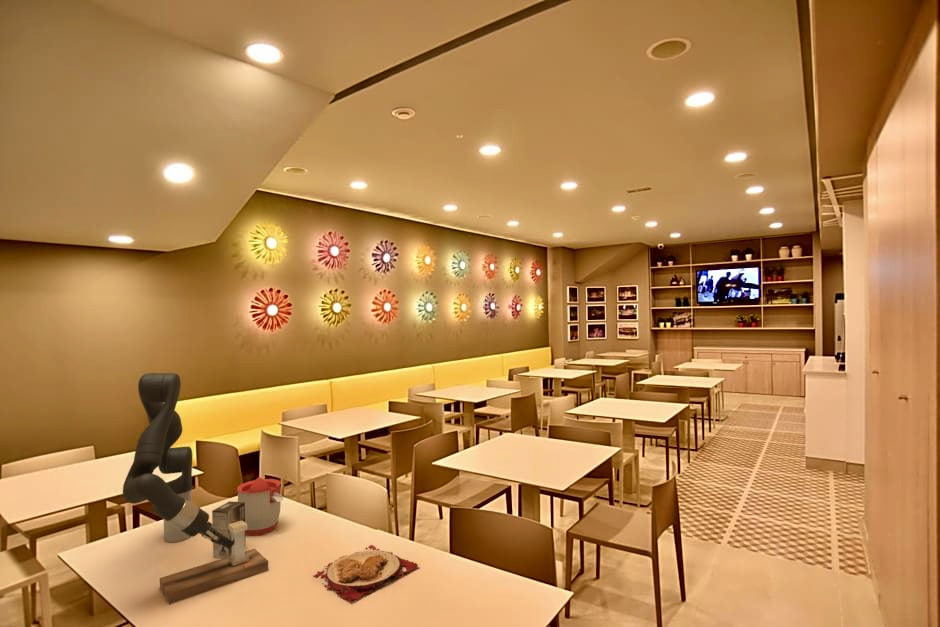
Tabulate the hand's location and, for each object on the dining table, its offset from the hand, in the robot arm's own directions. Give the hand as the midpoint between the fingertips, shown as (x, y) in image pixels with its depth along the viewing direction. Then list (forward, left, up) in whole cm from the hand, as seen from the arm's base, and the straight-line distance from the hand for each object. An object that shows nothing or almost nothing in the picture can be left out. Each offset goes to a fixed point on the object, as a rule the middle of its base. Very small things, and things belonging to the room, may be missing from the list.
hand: (231, 545), depth 161 cm
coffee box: (-16, +4, -9) cm, 19 cm away
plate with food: (+28, +31, -10) cm, 43 cm away
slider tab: (0, +2, -5) cm, 6 cm away
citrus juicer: (-27, +19, -9) cm, 34 cm away
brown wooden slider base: (0, -5, -9) cm, 10 cm away
